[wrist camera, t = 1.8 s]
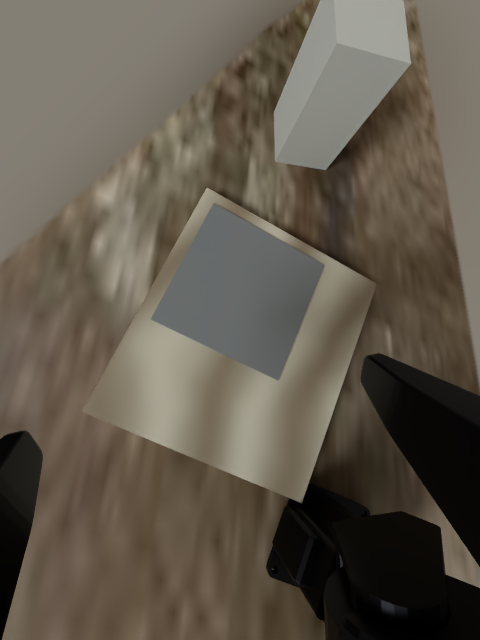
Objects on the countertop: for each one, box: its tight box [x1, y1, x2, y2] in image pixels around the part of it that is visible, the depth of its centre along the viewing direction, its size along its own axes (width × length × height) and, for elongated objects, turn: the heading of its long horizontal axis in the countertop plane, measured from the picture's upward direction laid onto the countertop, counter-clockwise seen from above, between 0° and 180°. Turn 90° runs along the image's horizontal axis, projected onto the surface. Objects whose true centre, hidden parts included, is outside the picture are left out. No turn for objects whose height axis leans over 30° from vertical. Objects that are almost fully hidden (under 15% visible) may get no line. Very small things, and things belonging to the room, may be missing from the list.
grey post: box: [274, 0, 411, 170], centre depth 22 cm, size 5×5×10 cm
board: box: [82, 188, 377, 503], centre depth 22 cm, size 16×18×2 cm
